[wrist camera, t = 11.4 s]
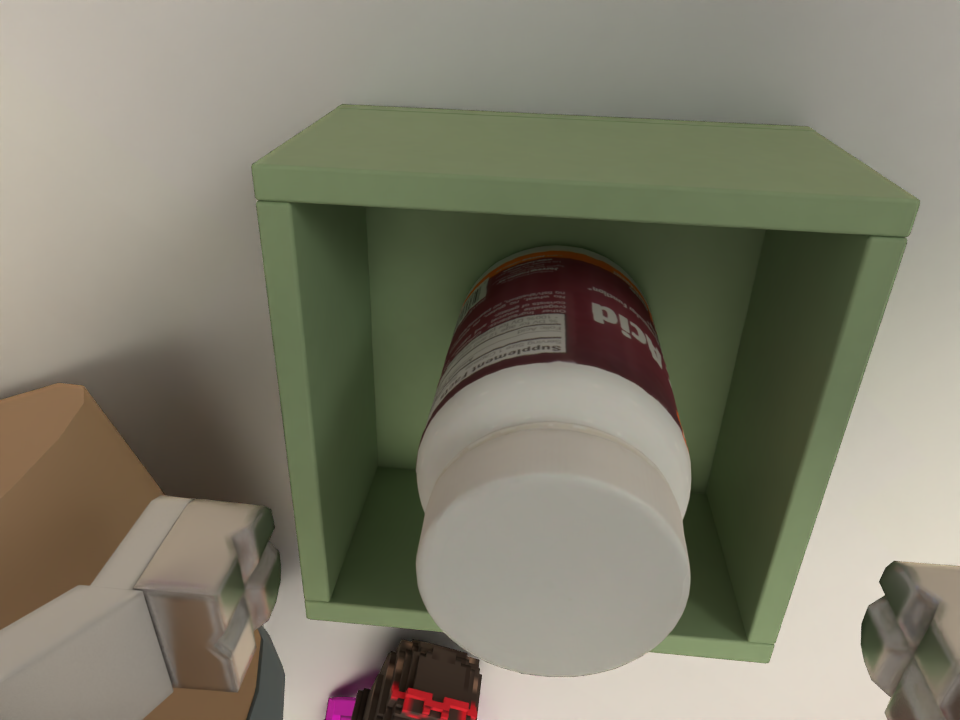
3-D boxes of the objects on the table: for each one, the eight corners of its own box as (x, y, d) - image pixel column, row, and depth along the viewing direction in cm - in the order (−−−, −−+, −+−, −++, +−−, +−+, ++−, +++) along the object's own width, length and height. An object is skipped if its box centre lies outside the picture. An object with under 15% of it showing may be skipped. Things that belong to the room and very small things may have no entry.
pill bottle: (683, 369, 18) (769, 649, 11) (513, 437, 19) (486, 725, 12) (602, 202, 16) (640, 401, 9) (421, 291, 18) (325, 526, 10)
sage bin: (340, 103, 16) (249, 163, 11) (810, 126, 15) (923, 199, 11) (362, 470, 21) (305, 620, 16) (719, 499, 20) (769, 665, 16)
